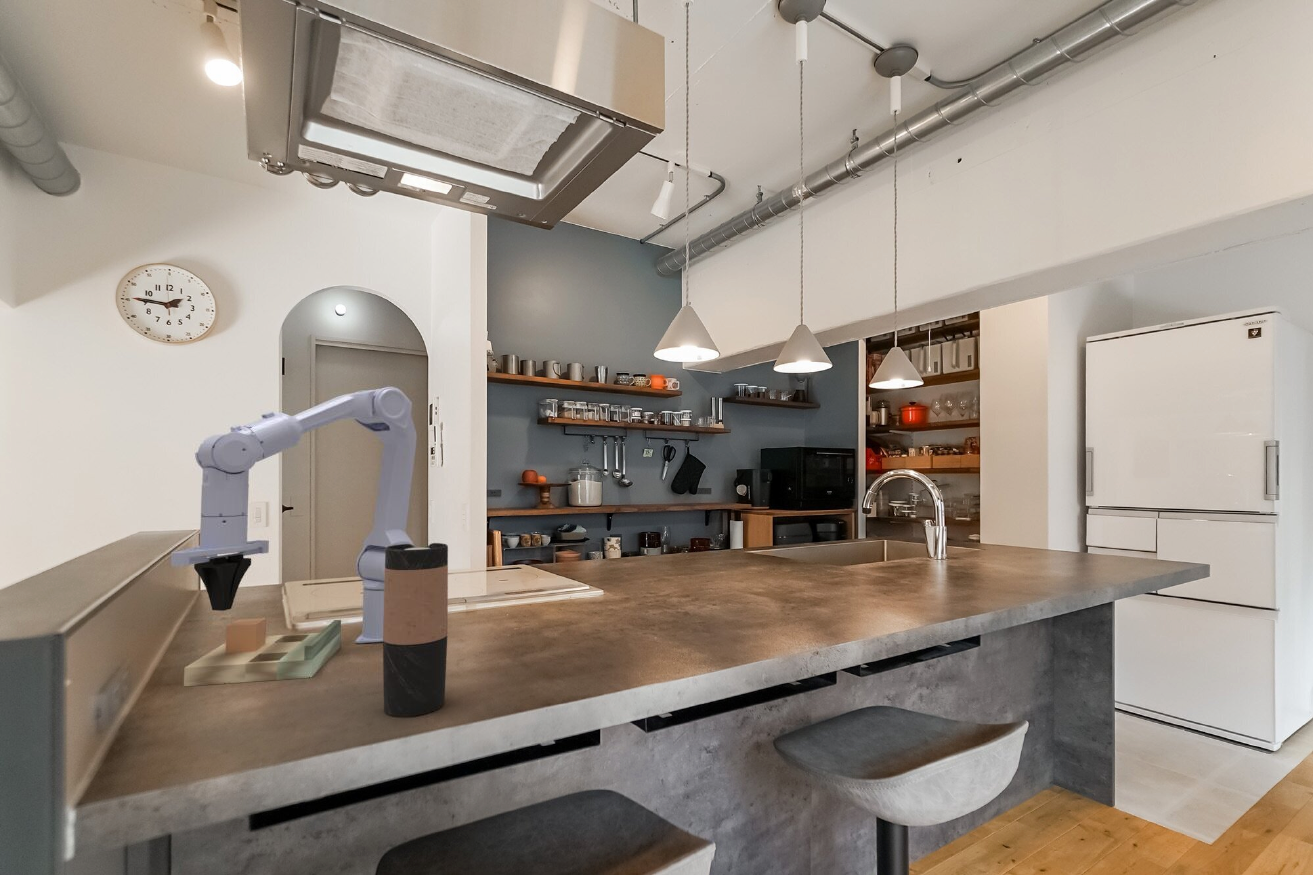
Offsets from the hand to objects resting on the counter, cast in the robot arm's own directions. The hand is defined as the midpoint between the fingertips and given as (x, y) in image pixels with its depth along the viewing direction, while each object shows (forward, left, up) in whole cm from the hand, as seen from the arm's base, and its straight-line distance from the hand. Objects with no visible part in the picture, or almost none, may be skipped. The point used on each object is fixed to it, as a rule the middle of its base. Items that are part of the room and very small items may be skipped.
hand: (221, 609), depth 92 cm
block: (-2, -5, -7) cm, 8 cm away
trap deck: (-5, -4, -9) cm, 11 cm away
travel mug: (-29, +19, -10) cm, 36 cm away
